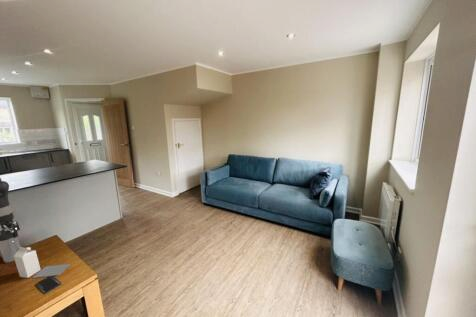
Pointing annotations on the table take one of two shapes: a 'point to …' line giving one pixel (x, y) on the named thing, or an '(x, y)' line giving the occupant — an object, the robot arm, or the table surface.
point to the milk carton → (26, 262)
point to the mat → (51, 271)
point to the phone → (48, 284)
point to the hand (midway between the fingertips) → (10, 236)
